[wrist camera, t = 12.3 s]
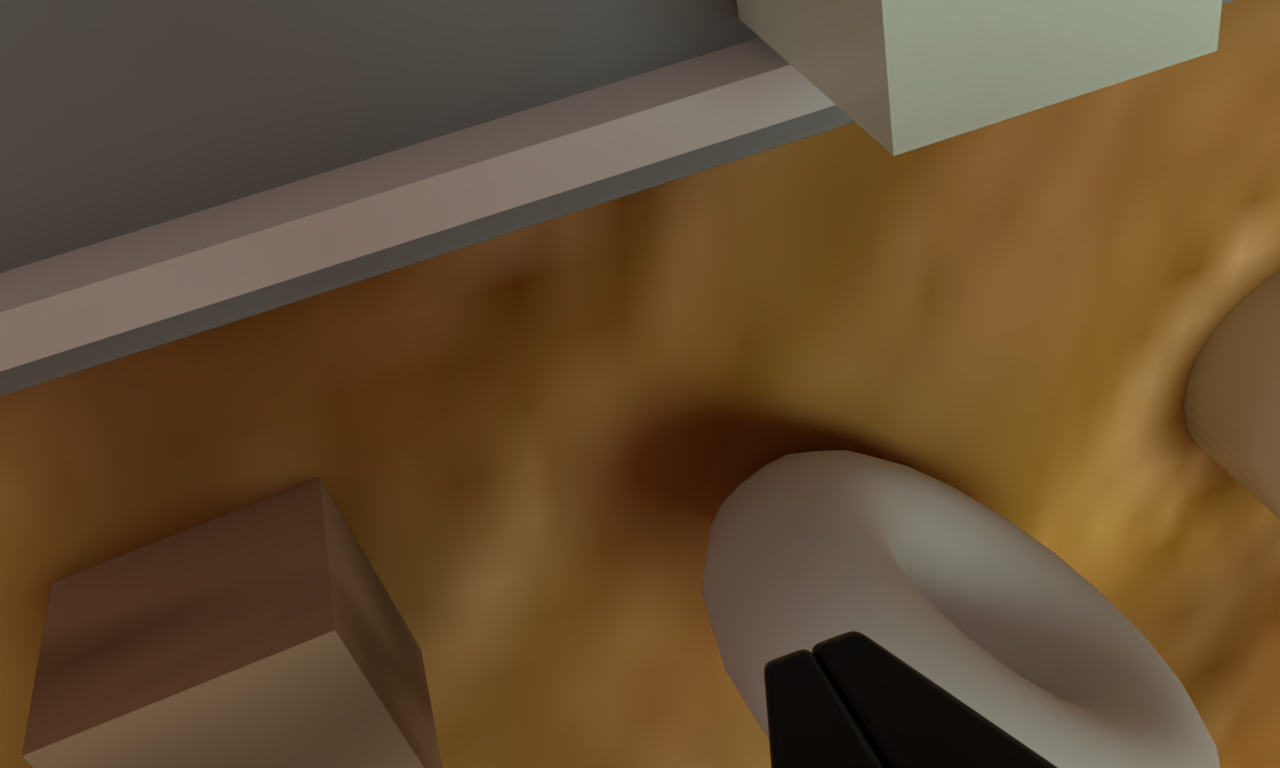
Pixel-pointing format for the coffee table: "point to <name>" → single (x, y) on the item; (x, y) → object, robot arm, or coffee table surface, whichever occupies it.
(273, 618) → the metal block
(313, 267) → the rail
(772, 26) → the tally marker
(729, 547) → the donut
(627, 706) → the coffee table surface
